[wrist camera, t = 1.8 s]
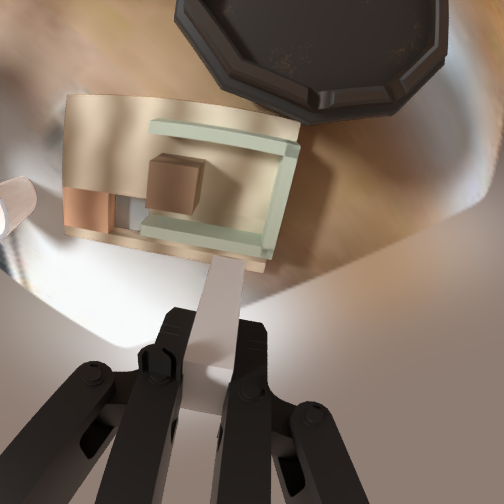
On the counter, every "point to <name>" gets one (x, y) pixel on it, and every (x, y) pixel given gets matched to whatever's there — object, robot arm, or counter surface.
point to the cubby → (220, 235)
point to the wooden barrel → (319, 52)
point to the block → (174, 183)
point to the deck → (148, 147)
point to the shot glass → (15, 203)
